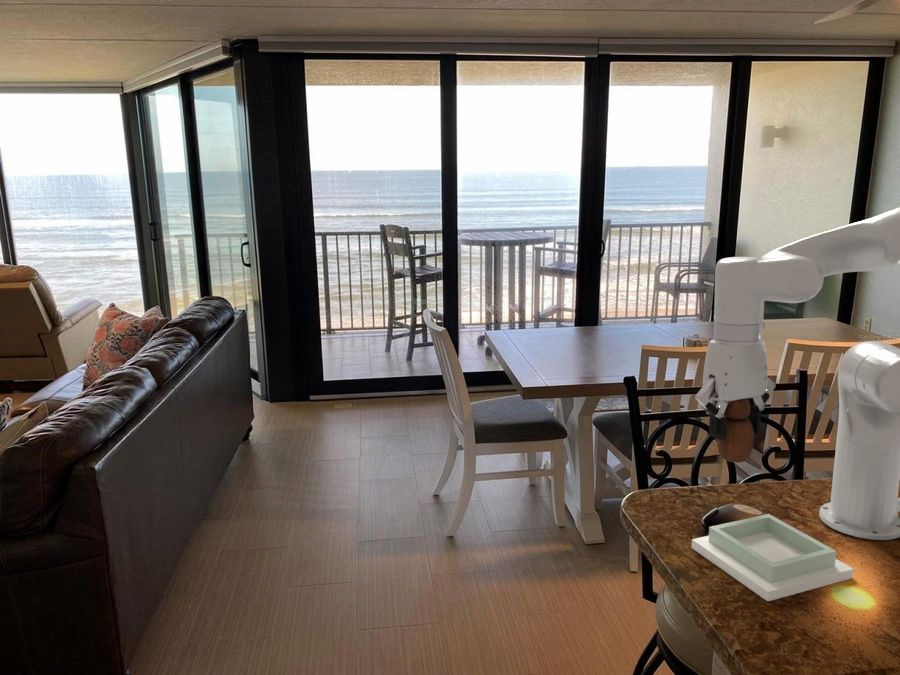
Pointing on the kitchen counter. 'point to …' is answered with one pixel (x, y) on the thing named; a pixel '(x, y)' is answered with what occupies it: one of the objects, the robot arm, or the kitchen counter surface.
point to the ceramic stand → (771, 557)
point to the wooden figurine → (737, 432)
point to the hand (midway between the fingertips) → (734, 433)
